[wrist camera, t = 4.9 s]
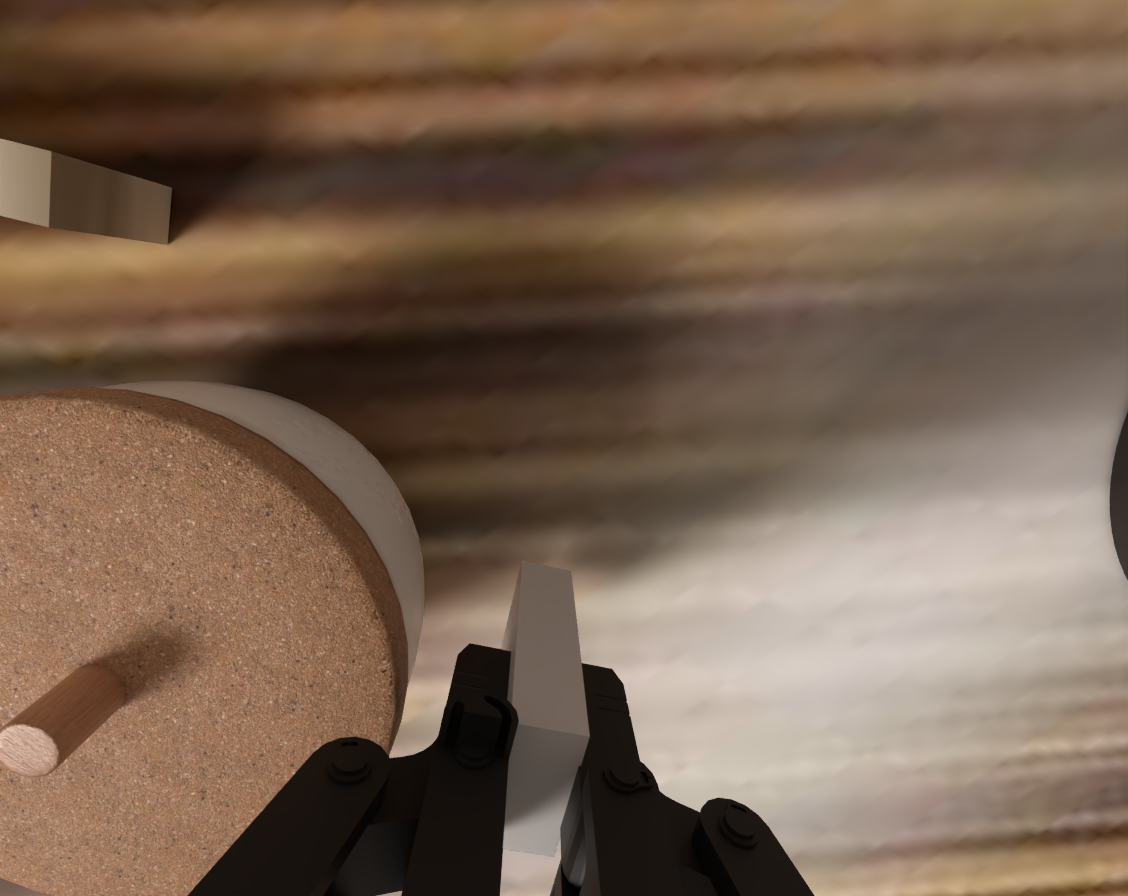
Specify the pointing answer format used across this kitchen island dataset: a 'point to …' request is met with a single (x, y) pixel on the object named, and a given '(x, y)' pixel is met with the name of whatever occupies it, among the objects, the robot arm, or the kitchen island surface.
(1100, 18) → the kitchen island surface
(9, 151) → the birch dock
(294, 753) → the lidded jar
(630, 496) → the kitchen island surface
